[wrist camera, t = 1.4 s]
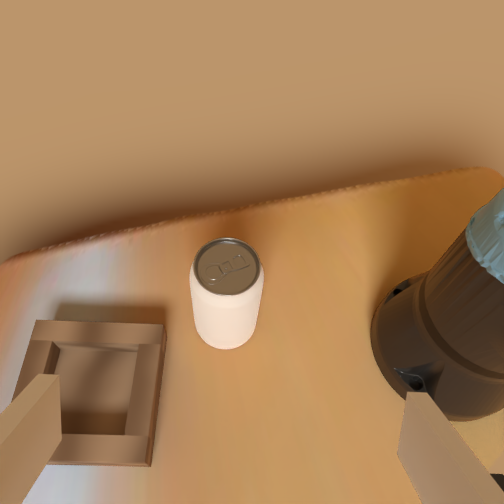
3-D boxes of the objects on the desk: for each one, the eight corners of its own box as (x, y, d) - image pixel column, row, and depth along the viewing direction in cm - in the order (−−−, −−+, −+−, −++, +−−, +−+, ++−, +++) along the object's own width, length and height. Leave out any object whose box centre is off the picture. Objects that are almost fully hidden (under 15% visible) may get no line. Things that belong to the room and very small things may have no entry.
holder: (166, 337, 44) (163, 324, 41) (150, 466, 38) (144, 462, 35) (48, 333, 43) (36, 319, 40) (11, 463, 37) (-7, 459, 34)
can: (185, 309, 46) (175, 250, 36) (238, 285, 48) (243, 222, 38) (211, 361, 43) (209, 313, 33) (267, 333, 45) (280, 280, 35)
